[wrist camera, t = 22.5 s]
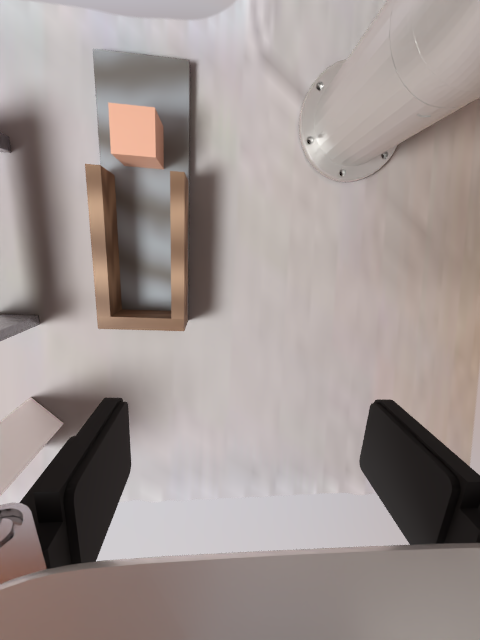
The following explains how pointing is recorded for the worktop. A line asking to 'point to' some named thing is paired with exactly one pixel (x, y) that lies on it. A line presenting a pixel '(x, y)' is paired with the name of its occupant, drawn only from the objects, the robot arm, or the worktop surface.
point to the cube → (136, 135)
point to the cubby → (141, 199)
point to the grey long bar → (5, 323)
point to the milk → (23, 438)
